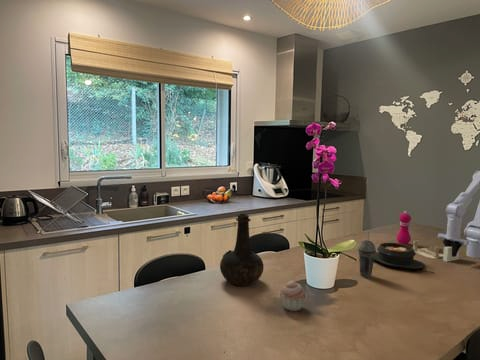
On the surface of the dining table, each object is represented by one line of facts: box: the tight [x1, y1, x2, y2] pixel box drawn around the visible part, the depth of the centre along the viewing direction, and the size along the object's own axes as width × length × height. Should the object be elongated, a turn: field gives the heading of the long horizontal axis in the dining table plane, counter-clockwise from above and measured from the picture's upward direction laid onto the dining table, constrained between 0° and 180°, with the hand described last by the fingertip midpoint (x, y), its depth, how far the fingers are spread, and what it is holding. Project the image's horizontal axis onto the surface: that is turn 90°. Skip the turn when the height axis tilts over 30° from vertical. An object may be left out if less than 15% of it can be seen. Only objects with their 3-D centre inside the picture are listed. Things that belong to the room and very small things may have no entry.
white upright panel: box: [442, 246, 461, 262], centre depth 179 cm, size 2×9×7 cm, turn 116°
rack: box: [412, 240, 444, 260], centre depth 190 cm, size 15×14×6 cm
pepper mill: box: [396, 210, 412, 246], centre depth 204 cm, size 7×7×20 cm
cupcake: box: [279, 279, 307, 312], centre depth 128 cm, size 9×9×10 cm
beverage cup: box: [358, 229, 377, 279], centre depth 158 cm, size 7×7×20 cm
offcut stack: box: [427, 245, 444, 253], centre depth 192 cm, size 4×6×2 cm
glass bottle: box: [219, 213, 264, 287], centre depth 149 cm, size 18×18×28 cm
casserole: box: [374, 242, 425, 270], centre depth 175 cm, size 25×19×8 cm
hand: (451, 255), depth 179 cm, fingers closed on white upright panel, 2 cm apart
